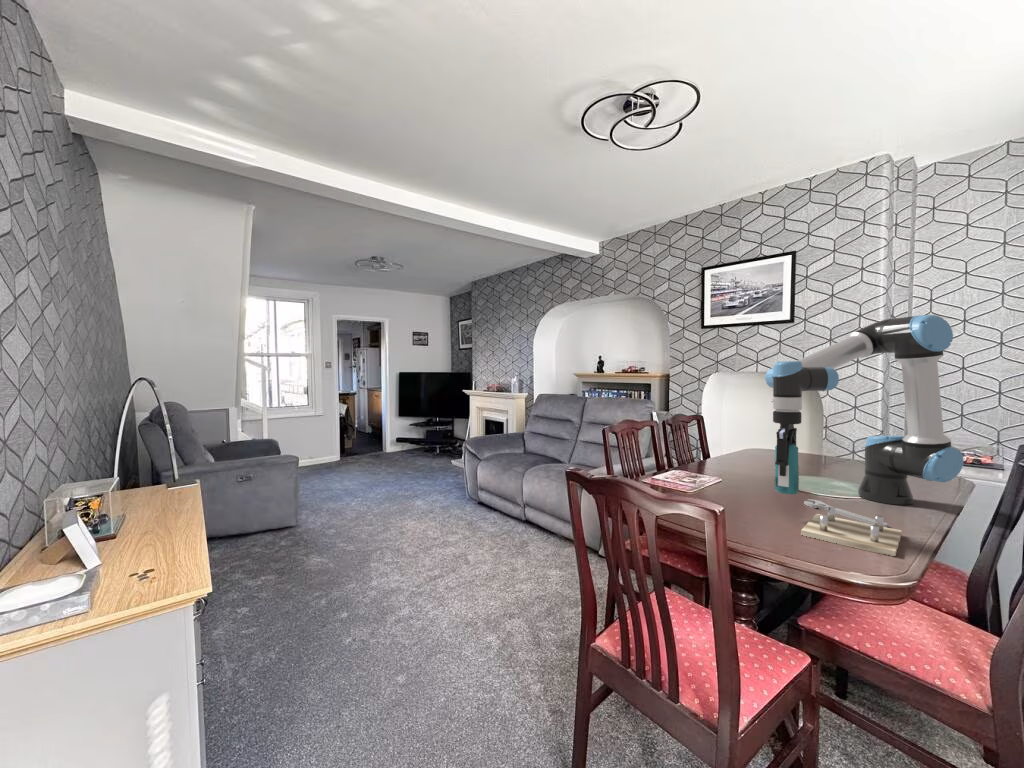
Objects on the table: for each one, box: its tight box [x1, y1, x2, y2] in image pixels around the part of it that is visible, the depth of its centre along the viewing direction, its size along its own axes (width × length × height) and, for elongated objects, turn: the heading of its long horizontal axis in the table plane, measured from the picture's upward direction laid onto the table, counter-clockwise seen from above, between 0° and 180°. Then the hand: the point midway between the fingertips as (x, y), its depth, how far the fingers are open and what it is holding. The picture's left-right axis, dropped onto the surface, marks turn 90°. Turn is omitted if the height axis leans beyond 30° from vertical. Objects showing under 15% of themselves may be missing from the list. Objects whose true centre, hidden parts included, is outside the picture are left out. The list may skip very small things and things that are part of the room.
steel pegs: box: [820, 506, 885, 543], centre depth 122 cm, size 13×13×4 cm
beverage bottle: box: [774, 434, 800, 495], centre depth 136 cm, size 6×7×20 cm
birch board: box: [800, 513, 903, 557], centre depth 122 cm, size 20×20×2 cm
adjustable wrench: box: [803, 498, 888, 528], centre depth 140 cm, size 25×6×2 cm, turn 13°
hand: (786, 483), depth 136 cm, fingers closed on beverage bottle, 6 cm apart
